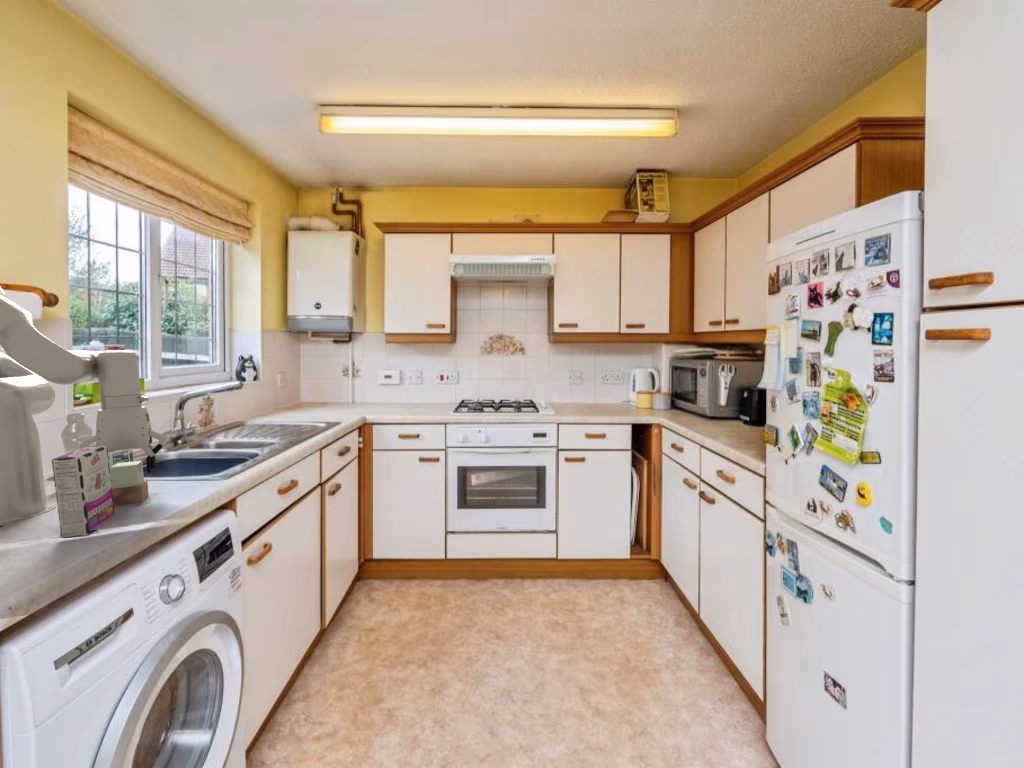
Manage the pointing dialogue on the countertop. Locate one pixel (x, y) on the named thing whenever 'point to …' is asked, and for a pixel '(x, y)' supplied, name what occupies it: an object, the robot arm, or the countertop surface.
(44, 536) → the countertop surface
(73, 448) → the plastic bottle
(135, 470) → the sage cube
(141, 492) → the walnut block
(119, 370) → the robot arm
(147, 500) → the plate
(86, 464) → the candy bar box
